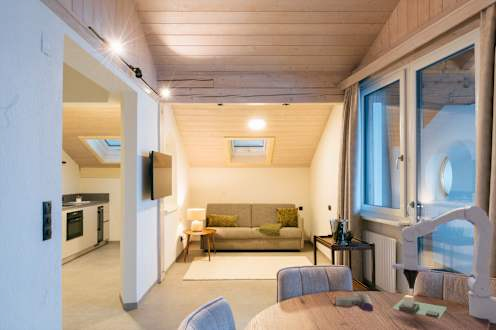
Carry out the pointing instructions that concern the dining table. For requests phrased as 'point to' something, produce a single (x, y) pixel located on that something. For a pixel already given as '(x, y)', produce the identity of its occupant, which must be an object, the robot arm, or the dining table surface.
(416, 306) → the socket
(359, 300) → the infrared thermometer
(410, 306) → the plug
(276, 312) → the dining table surface
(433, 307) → the circuit board
